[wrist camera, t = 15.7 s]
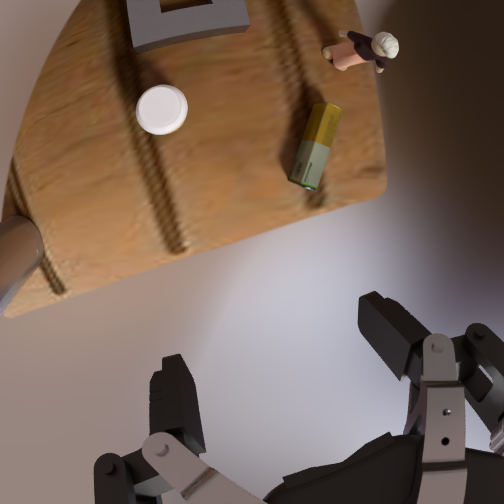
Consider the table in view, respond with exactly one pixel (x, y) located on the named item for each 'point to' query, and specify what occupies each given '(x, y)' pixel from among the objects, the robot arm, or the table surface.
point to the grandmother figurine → (362, 50)
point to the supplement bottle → (161, 109)
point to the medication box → (315, 145)
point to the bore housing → (183, 22)
